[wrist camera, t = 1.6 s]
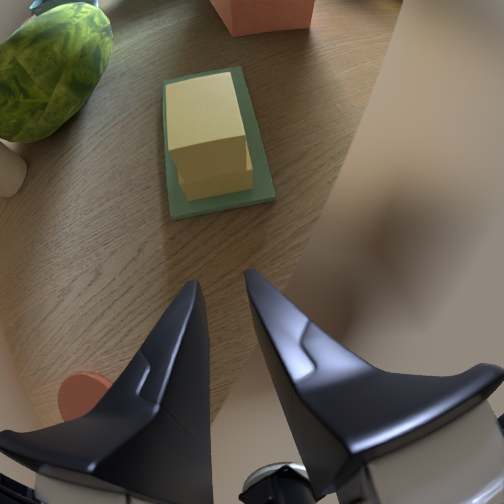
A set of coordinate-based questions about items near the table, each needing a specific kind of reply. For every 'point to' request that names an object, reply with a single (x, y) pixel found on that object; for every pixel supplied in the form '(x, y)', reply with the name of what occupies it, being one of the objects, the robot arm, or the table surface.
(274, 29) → the house
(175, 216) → the butter dish
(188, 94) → the butter slab
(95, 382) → the reddish brown disc
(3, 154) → the candle
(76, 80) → the lettuce
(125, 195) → the table surface
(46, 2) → the flower pot
